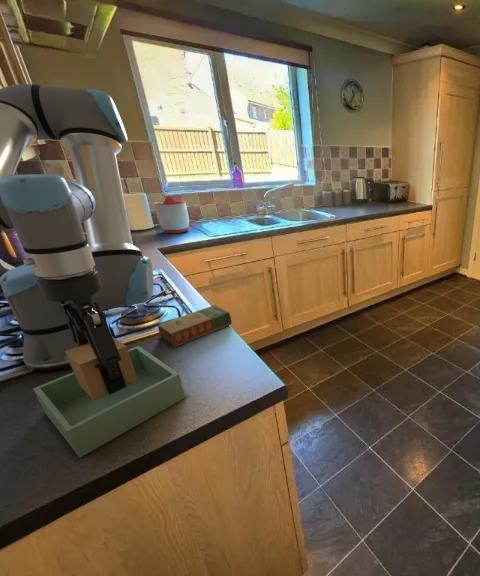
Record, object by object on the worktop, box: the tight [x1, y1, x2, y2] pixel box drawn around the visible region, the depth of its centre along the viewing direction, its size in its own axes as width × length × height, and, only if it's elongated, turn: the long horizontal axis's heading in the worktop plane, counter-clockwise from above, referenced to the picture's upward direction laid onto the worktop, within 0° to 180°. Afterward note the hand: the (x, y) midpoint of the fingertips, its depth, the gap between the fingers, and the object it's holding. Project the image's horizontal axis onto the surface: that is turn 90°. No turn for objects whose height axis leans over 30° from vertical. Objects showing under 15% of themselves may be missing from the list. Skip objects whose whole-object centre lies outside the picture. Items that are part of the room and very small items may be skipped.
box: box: [65, 335, 137, 401], centre depth 62 cm, size 7×7×8 cm
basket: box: [32, 345, 186, 458], centre depth 65 cm, size 18×18×6 cm
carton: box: [157, 304, 233, 348], centre depth 92 cm, size 8×16×4 cm, turn 144°
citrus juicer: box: [153, 196, 190, 235], centre depth 186 cm, size 16×17×20 cm
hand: (108, 382), depth 64 cm, fingers closed on box, 7 cm apart
